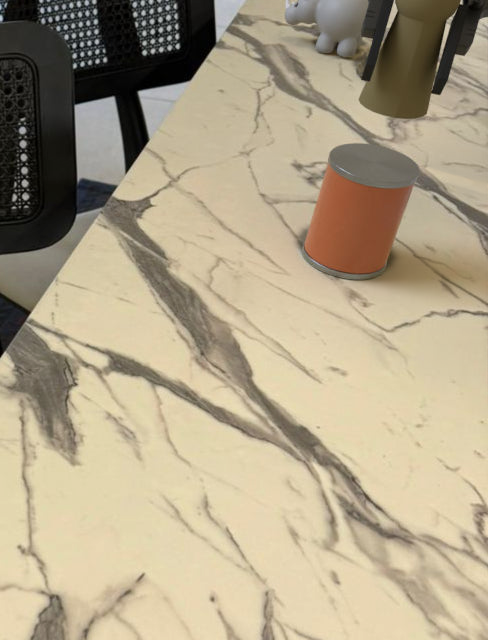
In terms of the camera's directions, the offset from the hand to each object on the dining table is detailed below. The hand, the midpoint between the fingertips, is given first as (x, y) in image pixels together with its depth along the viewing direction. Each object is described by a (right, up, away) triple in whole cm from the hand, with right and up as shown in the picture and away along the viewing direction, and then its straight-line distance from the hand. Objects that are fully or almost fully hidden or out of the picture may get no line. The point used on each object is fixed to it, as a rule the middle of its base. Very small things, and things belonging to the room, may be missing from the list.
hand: (403, 79), depth 86 cm
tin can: (0, -12, +15) cm, 19 cm away
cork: (+1, 0, +5) cm, 5 cm away
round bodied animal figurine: (+11, +28, +61) cm, 69 cm away
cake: (+19, +21, +54) cm, 61 cm away
